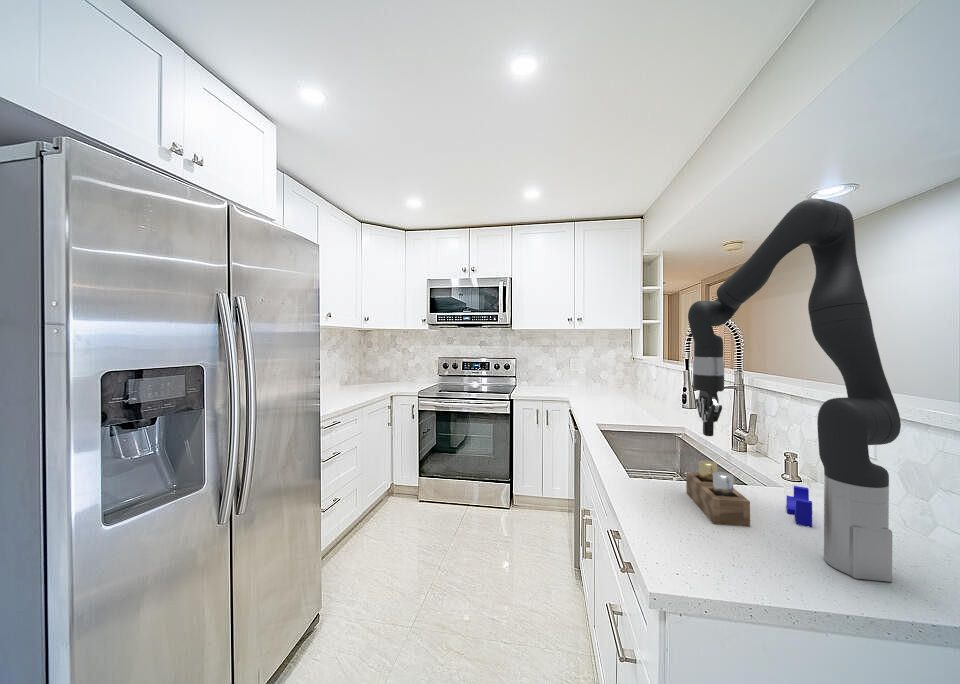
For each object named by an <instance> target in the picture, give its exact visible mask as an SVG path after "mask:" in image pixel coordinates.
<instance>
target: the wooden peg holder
mask: <svg viewBox="0 0 960 684" xmlns="http://www.w3.org/2000/svg"><path fill="white" fill-rule="evenodd" d="M685 477H686V479H685V481H686V484H685V485H686V489H685V491H686V492H685V493H686V494H687V495H688V497H690V499H691V500H692V501H693V502H694V503H695V504H696V506H698V508H699V509H700V510H701V511H702V512H703V514H704V515H705V516H706V517H707V518H708V519H709V521H710V522H711V523H712V524H713V525H724V526H736V527H749V528H750V527H751V501H750V500H749V499H747V497H745V496H743V494H741V492H739V491H738V490H737V489H735V488H734V487H733V497H727V496H716V495H715V494H714V493H713V482H701V481H700V480H699V472H691V471H690V472H689V471H686V476H685Z"/></svg>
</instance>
